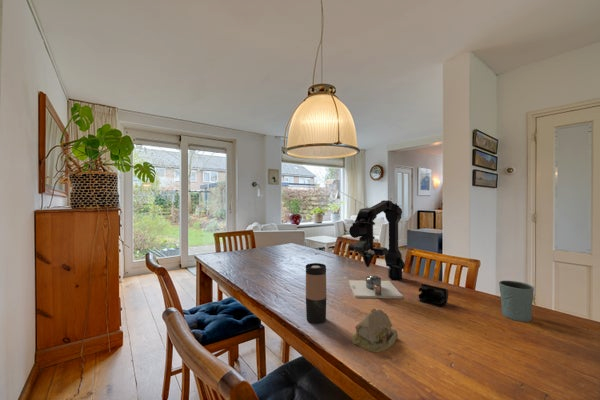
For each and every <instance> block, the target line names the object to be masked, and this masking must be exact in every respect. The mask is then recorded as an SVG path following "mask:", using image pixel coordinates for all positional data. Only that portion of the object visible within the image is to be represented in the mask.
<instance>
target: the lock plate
mask: <svg viewBox="0 0 600 400" xmlns="http://www.w3.org/2000/svg"><path fill="white" fill-rule="evenodd" d="M348 284H349V286H350V288H351V291H352V295H353V297H354V299H355V298H359V299H361V298H362V299H404V298H403V297H404V296H403V294H402V293H401V292H400V291H399V290H398V289H397V288H396V287H395V286H394V284H393V283H392V282H391V281H390V280H381V294H375V292H374V290H373V289H369V288H367V287H366V280H361V279H360V280H352V279H349V280H348Z"/></svg>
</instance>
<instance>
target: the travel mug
mask: <svg viewBox="0 0 600 400" xmlns="http://www.w3.org/2000/svg"><path fill="white" fill-rule="evenodd" d="M305 309H306V310H305V313H306V320H307V322H308V323H309V324H312V325H320V324H321V325H322V324H324V323H325V322H326V320H327V266H326V264H324V263H319V262H313V263H308V264H306V265H305Z"/></svg>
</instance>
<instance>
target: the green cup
mask: <svg viewBox="0 0 600 400" xmlns="http://www.w3.org/2000/svg"><path fill="white" fill-rule="evenodd" d="M498 285H499V286H498V287H499V288H498V289H499V293H500V302H501V314H502V315H503V316H504V317H505V318H508V319H511V320H513V321H518V322H525V323H526V322H527V323H528V322H531V321H532V319H533V301H534V291H535V288H534V286H533V285H531V284H529V283H526V282H522V281H515V280H500V281H498Z"/></svg>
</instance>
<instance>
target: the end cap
mask: <svg viewBox="0 0 600 400" xmlns="http://www.w3.org/2000/svg"><path fill="white" fill-rule="evenodd" d="M420 285H421V286H420V287H419V288H418V292H419V293H418V299H419V300H418V301H419V303H422V304H423V303H424V304H427V305H431V306H434V307H437V308H440V309H441V308H443V307H444V306H446V304H447V303H448V300H449V290H448V289H447V288H444V287H439V286H435V285H430V284H426V283H421V284H420Z"/></svg>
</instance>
